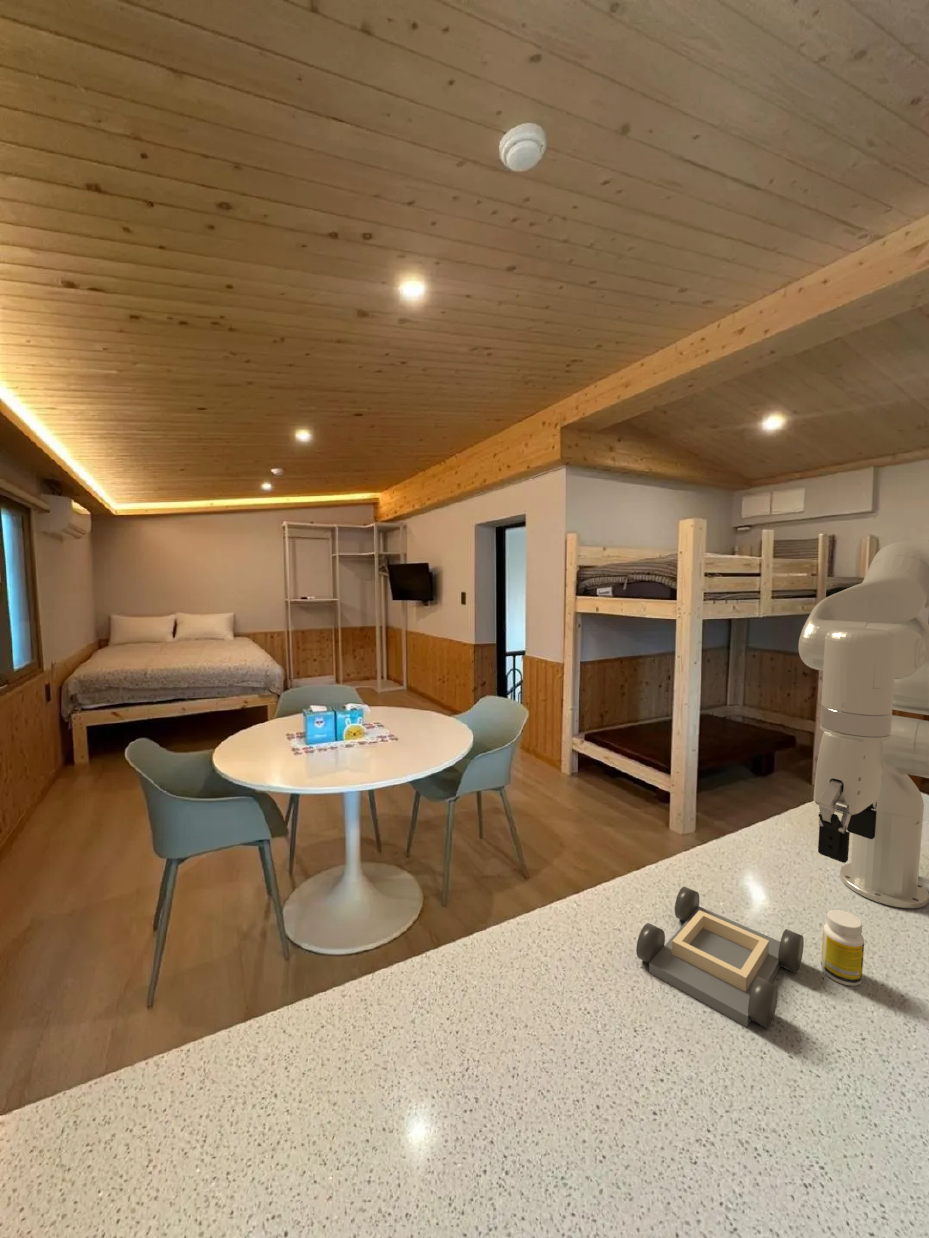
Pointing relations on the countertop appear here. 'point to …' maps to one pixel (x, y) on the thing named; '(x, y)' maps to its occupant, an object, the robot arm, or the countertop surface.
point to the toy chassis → (720, 961)
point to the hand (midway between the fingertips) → (847, 845)
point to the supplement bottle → (843, 948)
